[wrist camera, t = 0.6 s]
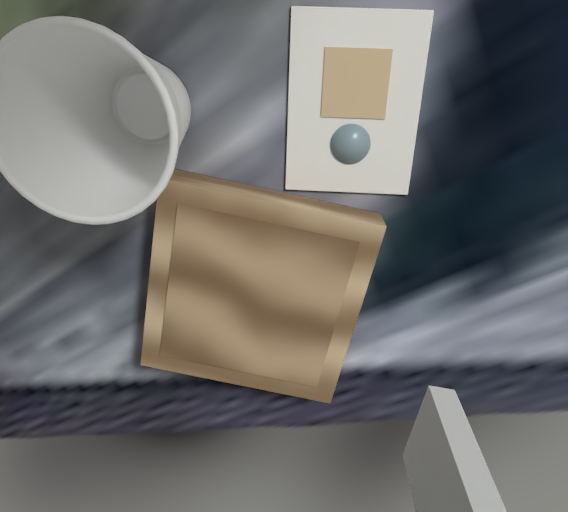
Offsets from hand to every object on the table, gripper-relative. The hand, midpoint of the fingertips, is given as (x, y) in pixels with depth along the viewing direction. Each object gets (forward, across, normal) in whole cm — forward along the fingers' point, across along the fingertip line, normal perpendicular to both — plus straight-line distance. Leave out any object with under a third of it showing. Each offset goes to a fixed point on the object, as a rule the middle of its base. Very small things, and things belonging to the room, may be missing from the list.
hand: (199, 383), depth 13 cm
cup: (+23, -9, +4) cm, 25 cm away
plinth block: (+23, 0, -8) cm, 24 cm away
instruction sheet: (+23, +5, +6) cm, 24 cm away
